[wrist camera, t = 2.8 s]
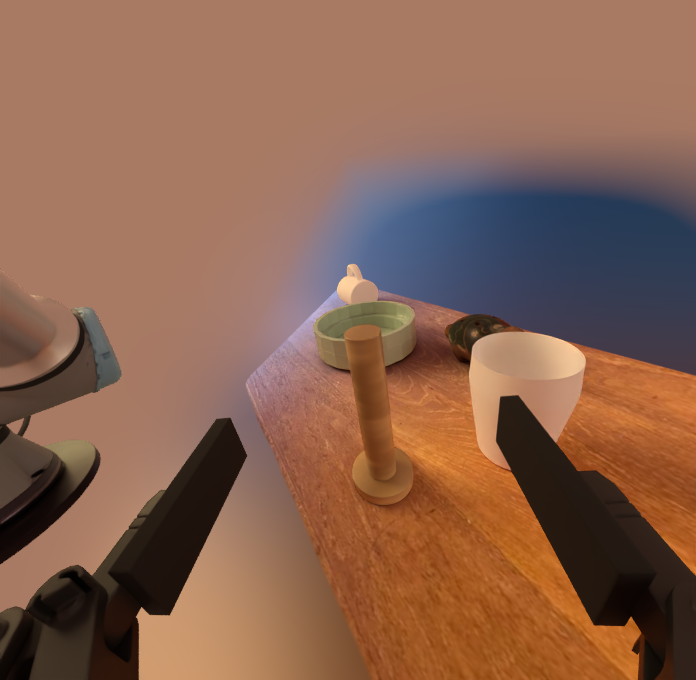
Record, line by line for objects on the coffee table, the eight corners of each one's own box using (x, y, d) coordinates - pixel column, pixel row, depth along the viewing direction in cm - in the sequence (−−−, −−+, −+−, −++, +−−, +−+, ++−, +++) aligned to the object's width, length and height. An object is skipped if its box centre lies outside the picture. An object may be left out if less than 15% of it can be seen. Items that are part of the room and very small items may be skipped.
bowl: (301, 367, 53) (293, 337, 50) (345, 325, 68) (341, 300, 66) (399, 380, 44) (396, 345, 41) (425, 329, 60) (424, 300, 57)
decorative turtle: (505, 393, 38) (504, 341, 35) (428, 358, 51) (423, 318, 48) (548, 365, 41) (552, 315, 38) (466, 338, 54) (464, 300, 51)
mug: (353, 314, 74) (346, 270, 69) (339, 305, 83) (332, 265, 78) (380, 306, 76) (375, 263, 71) (364, 298, 85) (358, 259, 80)
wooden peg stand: (343, 492, 28) (307, 347, 21) (367, 446, 33) (344, 315, 26) (404, 515, 25) (387, 355, 18) (419, 460, 30) (411, 317, 23)
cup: (450, 449, 31) (451, 358, 26) (488, 408, 36) (495, 324, 31) (542, 503, 25) (569, 396, 19) (573, 443, 29) (601, 345, 24)
